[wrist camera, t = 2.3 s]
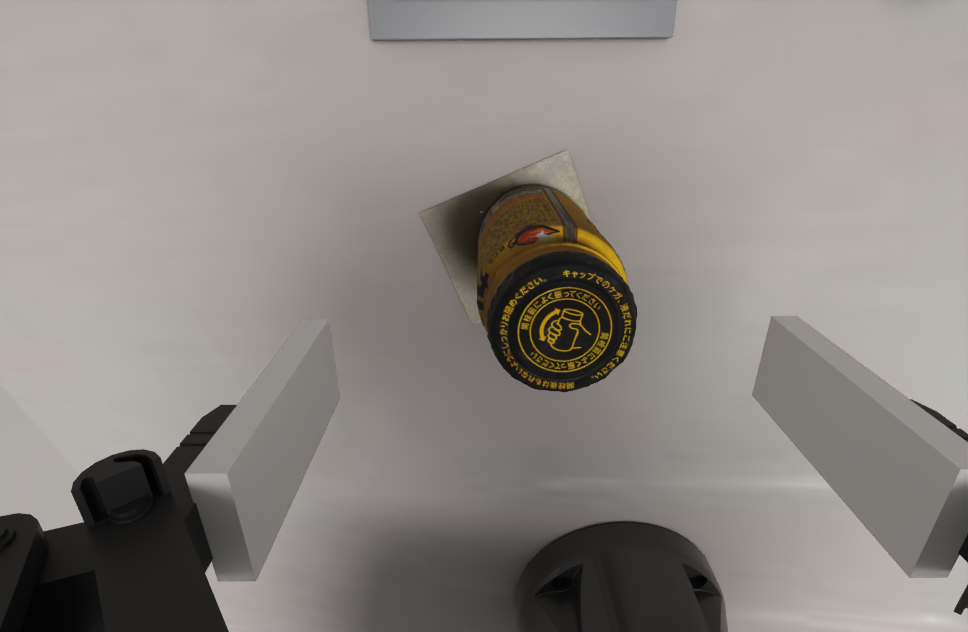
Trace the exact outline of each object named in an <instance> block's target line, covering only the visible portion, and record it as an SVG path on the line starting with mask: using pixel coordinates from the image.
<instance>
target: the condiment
mask: <svg viewBox="0 0 968 632" xmlns="http://www.w3.org/2000/svg"><path fill="white" fill-rule="evenodd" d="M480 211H482V212H483V213H480ZM419 214H420V216H421V218H422V220H423V222H424V224H425V226H426V228H427V230H428V232H429V234H430V236H431V238H432V240H433V243H434V245H435V247H436V249H437V251H438V253H439V255H440V257H441V259H442V261H443V263H444V266H445V268H446V270H447V272H448V274H449V276H450V278H451V279H452V282H453V285H454V287H455V289H456V291H457V293H458V296H459V298H460V300H461V302H462V304H463V306H464V308H465V311H466V313H467V315H468V317H469V319H470V321H471V323H472V325H475V324H478V323H481V322H482V323H483V326H484V327H485V329H486V331H487V333H488V335H487V337H488V339H489V341H490V344H491V348H492V349H493V352H494V354H495V356H496V358H497V360H498V361H499V363H500V364H501V365H502V367H503V368H504V369H505V370H506V371H507V372H508V373H509V374H510V375H511V376H512V377H513V378H515V379H516V380H519V381H521V382H522V383H524V384H526V385H528V386H529V387H531V388H534V389H537V390H548V391H561V392H568V391H572V390H577V389H580V388H583V387H587V386H589V385H591V384H593V383H596V382H598V381H600V380H602V379H604V378H606V377H607V376H608V375H609V373H610V372H611V371H612V370H613V369H615V368H616V367H617V366H618V365H619V364H621V363H622V362H623V361H624V359H625V358H626V356H627V355H628V353H629V351H630V348H631V346H632V343H633V339H634V335H635V330H636V318H637V307H636V304H635V302H634V296H633V294H632V292H631V291H630V289H629V286H628V285H627V278H626V273H625V269H624V266H623V264H622V262H621V261H620V258H619V256H618V255H617V253H616V252H615V250H614V249H613V247H612V246H611V245H610V244H609V242H608V241H607V240H606V239H605V238H604V237H603V236H602V235H601V234H600V232H599V231H598V230H597V229H596V227H595V226H594V225H593V223H592V221H591V218H590V215H589V212H588V209H587V206H586V203H585V200H584V197H583V194H582V191H581V188H580V185H579V181H578V179H577V175H576V173H575V169H574V166H573V163H572V161H571V158H570V155H569V152H568V150H565V151H563V152H561V153H558V154H556V155H554V156H551V157H549V158H547V159H544V160H542V161H539V162H537V163H535V164H532V165H530V166H528V167H526V168H523V169H520V170H518V171H516V172H513V173H511V174H509V175H507V176H504V177H502V178H500V179H497V180H495V181H493V182H490V183H488V184H486V185H484V186H482V187H479V188H477V189H475V190H472V191H470V192H467V193H465V194H463V195H460V196H458V197H455V198H453V199H451V200H449V201H446V202H444V203H442V204H440V205H438V206H435V207H433V208H430V209H428V210H426V211H423V212H421V213H419Z"/></svg>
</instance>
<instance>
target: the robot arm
mask: <svg viewBox="0 0 968 632" xmlns="http://www.w3.org/2000/svg"><path fill="white" fill-rule="evenodd" d="M752 396H753V397H754V398H755V399H756V400H757V402H758V403H759V404H760V405H761V406H762V407H763V409H764V410H765V411H766V412H767V413H768V414H769V416H770V417H771V418H772V419H773V420H774V421H775V422H776V424H777V425H778V426H779V427H780V428H781V429H782V431H783V432H784V433H785V434H786V435H787V436H788V438H789V439H790V440H791V441H792V442H793V443H794V445H795V446H796V447H797V448H798V449H799V450H800V451H801V453H802V454H803V455H804V456H805V457H806V458H807V460H808V461H809V462H810V463H811V464H812V465H813V467H814V468H815V469H816V470H817V471H818V472H819V474H820V475H821V476H822V477H823V478H824V479H825V480H826V482H827V483H828V484H829V485H830V486H831V487H832V489H833V490H834V491H835V492H836V493H837V494H838V496H839V497H840V498H841V499H842V500H843V501H844V502H845V504H846V505H847V506H848V507H849V508H850V509H851V511H852V512H853V513H854V514H855V515H856V516H857V518H858V519H859V520H860V521H861V522H862V523H863V525H864V526H865V527H866V528H867V529H868V530H869V531H870V533H871V534H872V535H873V536H874V537H875V538H876V540H877V541H878V542H879V543H880V544H881V545H882V547H883V548H884V549H885V550H886V551H887V552H888V554H889V555H890V556H891V557H892V558H893V559H894V560H895V562H896V563H897V564H898V565H899V566H900V567H901V569H902V570H903V571H904V572H905V573H906V574H907V576H908V577H909V578H943V577H948V576H949V574H950V572H951V570H952V568H953V566H954V564H955V562H956V560H957V558H958V556H959V554H960V555H961V556H962V557H963V558H964V559H965V560H966V561H967V562H968V434H967V433H966V432H964V431H963V430H961V429H957V428H956V425H955V424H953V423H952V422H950V421H949V420H948V419H946V418H945V417H944V416H942V415H941V414H939V413H938V412H937V411H934V410H932V409H930V408H928V407H926V406H924V405H922V404H920V403H918V402H916V401H914V400H912V399H908V398H907V397H906V396H904V395H903V394H902V393H900V392H899V391H898V390H896V389H895V388H894V387H892V386H891V385H890V384H888V383H887V382H885V381H884V380H883V379H881V378H880V377H879V376H877V375H876V374H875V373H873V372H872V371H871V370H869V369H868V368H867V367H865V366H864V365H862V364H861V363H860V362H858V361H857V360H856V359H854V358H853V357H852V356H850V355H849V354H848V353H846V352H845V351H844V350H842V349H841V348H840V347H838V346H837V345H835V344H834V343H833V342H831V341H830V340H829V339H827V338H826V337H825V336H823V335H822V334H821V333H819V332H818V331H817V330H815V329H814V328H812V327H811V326H810V325H808V324H807V323H806V322H804V321H803V320H802V319H800V318H799V317H798V316H771V320H770V324H769V328H768V332H767V336H766V340H765V344H764V348H763V352H762V357H761V361H760V365H759V369H758V373H757V377H756V381H755V385H754V389H753V393H752ZM339 399H340V394H339V387H338V380H337V373H336V366H335V359H334V352H333V345H332V338H331V331H330V324H329V319H303V320H302V321H301V323H300V324H299V325H298V327H297V328H296V329H295V330H294V332H293V333H292V334H291V336H290V337H289V338H288V340H287V341H286V342H285V344H284V345H283V346H282V347H281V349H280V350H279V351H278V353H277V354H276V355H275V357H274V358H273V359H272V360H271V362H270V363H269V364H268V366H267V367H266V368H265V370H264V371H263V372H262V373H261V375H260V376H259V377H258V379H257V380H256V381H255V383H254V384H253V385H252V386H251V388H250V389H249V390H248V392H247V393H246V394H245V396H244V397H243V398H242V399H241V401H240V402H239V403H238V405H220V406H219V407H217V408H216V409H214V410H213V411H211V412H210V413H208V414H207V415H205V416H204V417H202V418H201V419H200V421H199V422H198V423H197V424H196V425H195V427H194V428H193V429H192V430H191V431H190V435H187V436H186V437H185V438H184V440H183V441H182V442H181V443H180V447H177V448H176V449H175V450H174V451H173V453H172V454H171V455H170V456H169V457H168V458H167V460H166V461H165V462H164V463H163V464H162V461H161V458H160V457H159V456H158V455H157V454H156V453H155V452H153V451H148V450H144V449H143V450H130V451H125V452H122V453H118V454H114V455H111V456H109V457H107V458H105V459H102V460H100V461H98V462H96V463H94V464H93V465H92V466H90V467H89V468H87V469H86V470H84V471H83V472H82V473H81V474H80V475H79V476H78V477H77V479H76V480H75V481H74V482H73V486H72V490H71V493H72V495H73V497H74V500H75V502H76V504H77V506H78V509H79V511H80V513H81V516H82V517H83V520H84V522H83V523H79V524H74V525H70V526H66V527H62V528H57V529H53V530H48V531H44V532H43V530H42V528H41V526H40V524H39V522H38V520H37V519H36V518H34V517H33V516H32V515H29V514H20V513H18V514H11V515H6V516H1V517H0V632H229V631H228V629H227V626H226V624H225V621H224V619H223V617H222V614H221V612H220V609H219V607H218V604H217V602H216V599H215V597H214V594H213V592H212V590H211V587H210V585H209V582H208V580H207V577H206V575H205V572H206V570H207V568H208V566H209V565H210V563H211V561H212V563H213V567H214V570H215V573H216V576H217V579H218V581H256V580H257V578H258V576H259V574H260V571H261V569H262V567H263V565H264V563H265V561H266V558H267V556H268V554H269V552H270V550H271V547H272V545H273V543H274V541H275V539H276V537H277V534H278V532H279V530H280V528H281V526H282V523H283V521H284V519H285V517H286V515H287V513H288V510H289V508H290V506H291V504H292V502H293V499H294V497H295V495H296V493H297V491H298V489H299V486H300V484H301V482H302V480H303V478H304V475H305V473H306V471H307V469H308V467H309V465H310V462H311V460H312V458H313V456H314V454H315V451H316V449H317V447H318V445H319V443H320V441H321V438H322V436H323V434H324V432H325V430H326V427H327V425H328V423H329V421H330V419H331V417H332V414H333V412H334V410H335V408H336V406H337V403H338V401H339ZM516 607H517V621H518V630H519V632H728V627H727V619H726V610H725V602H724V598H723V595H722V591H721V589H720V586H719V584H718V582H717V580H716V578H715V576H714V574H713V572H712V569H711V567H710V565H709V563H708V561H707V560H706V558H705V557H704V555H703V554H702V553H701V551H700V550H699V549H698V548H697V547H696V546H694V545H693V544H692V543H691V542H689V541H688V540H687V539H685V538H683V537H682V536H680V535H678V534H676V533H674V532H671V531H669V530H666V529H663V528H659V527H656V526H651V525H645V524H637V523H614V524H605V525H599V526H594V527H590V528H586V529H583V530H580V531H577V532H574V533H572V534H569V535H567V536H565V537H563V538H561V539H559V540H557V541H555V542H554V543H552V544H551V545H549V546H548V547H546V548H545V549H544V550H543V551H541V552H540V553H539V554H538V555H537V556H536V557H535V558H534V559H533V560H532V561H531V562H530V564H529V565H528V566H527V568H526V569H525V571H524V573H523V574H522V576H521V579H520V581H519V584H518V587H517V593H516ZM965 608H968V585H967V587H966V589H965V590H964V592H963V594H962V596H961V598H960V600H959V601H958V603H957V605H956V607H955V610H954V612H956V613H958V614H960V615H961V614H962V612H963V610H964V609H965Z"/></svg>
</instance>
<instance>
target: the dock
mask: <svg viewBox="0 0 968 632" xmlns="http://www.w3.org/2000/svg"><path fill="white" fill-rule="evenodd" d="M676 5H677V0H368V11H369V23H370V35H371V39H372V40H374V41H404V40H531V39H659V38H670V37H673V29H674V21H675V13H676Z"/></svg>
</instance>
